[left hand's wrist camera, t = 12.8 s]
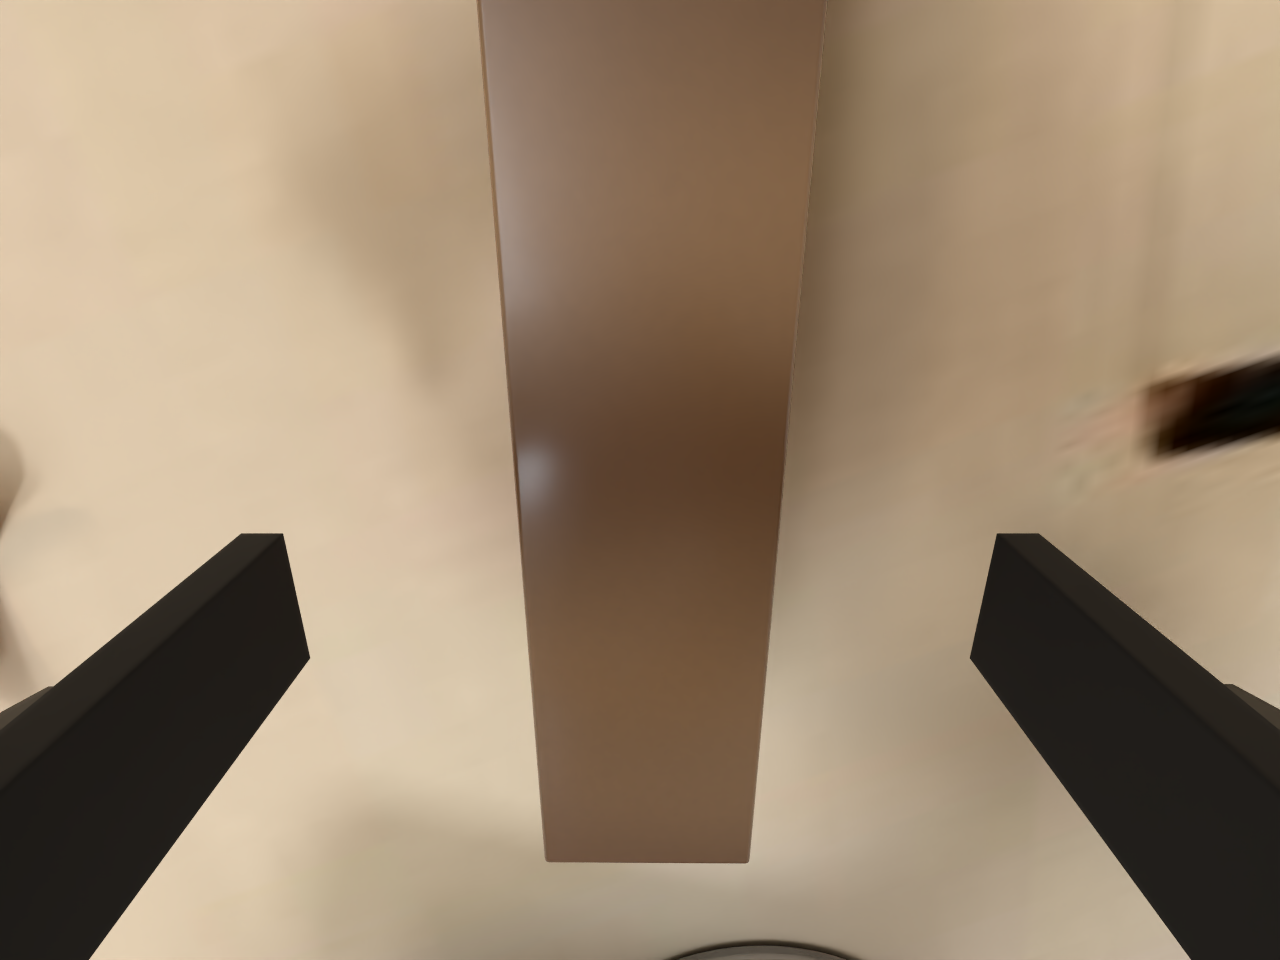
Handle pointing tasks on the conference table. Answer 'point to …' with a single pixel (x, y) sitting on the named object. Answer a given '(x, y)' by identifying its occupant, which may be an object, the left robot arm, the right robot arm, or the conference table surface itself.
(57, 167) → the conference table surface
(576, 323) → the post
